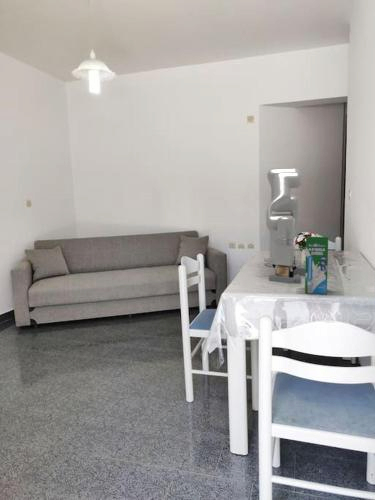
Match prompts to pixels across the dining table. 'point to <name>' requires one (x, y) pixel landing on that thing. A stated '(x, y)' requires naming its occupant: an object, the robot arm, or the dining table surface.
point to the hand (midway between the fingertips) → (284, 277)
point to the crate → (282, 271)
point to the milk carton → (316, 265)
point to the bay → (298, 275)
